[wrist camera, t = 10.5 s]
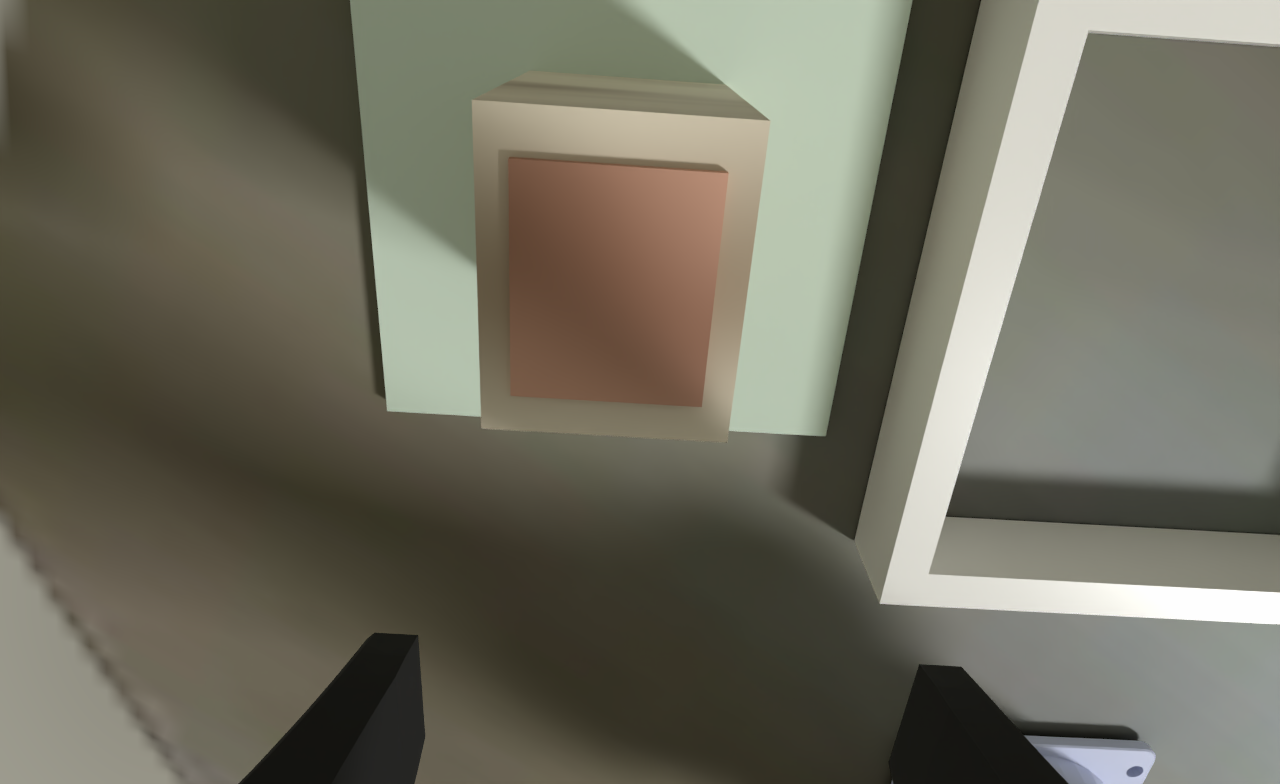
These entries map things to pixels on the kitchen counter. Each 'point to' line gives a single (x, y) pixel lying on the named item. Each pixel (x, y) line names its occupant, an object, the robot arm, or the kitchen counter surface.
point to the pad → (635, 48)
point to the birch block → (613, 253)
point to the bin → (968, 332)
